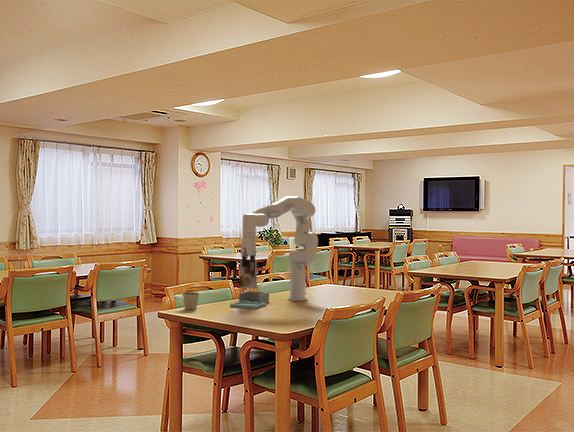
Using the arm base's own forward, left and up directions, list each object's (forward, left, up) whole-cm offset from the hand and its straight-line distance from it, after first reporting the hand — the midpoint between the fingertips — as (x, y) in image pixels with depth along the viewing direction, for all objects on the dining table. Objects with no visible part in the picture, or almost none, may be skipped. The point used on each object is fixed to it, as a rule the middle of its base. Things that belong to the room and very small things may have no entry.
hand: (248, 266), depth 318 cm
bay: (-12, -3, -23) cm, 26 cm away
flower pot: (+23, -23, -23) cm, 40 cm away
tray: (0, 0, -23) cm, 23 cm away
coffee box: (0, 0, -13) cm, 13 cm away
